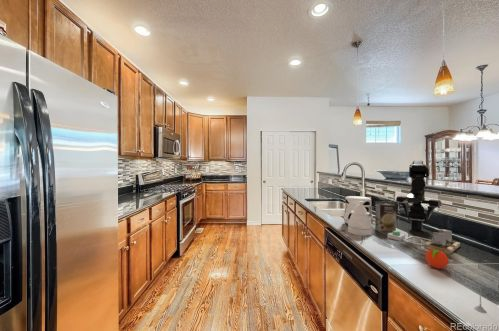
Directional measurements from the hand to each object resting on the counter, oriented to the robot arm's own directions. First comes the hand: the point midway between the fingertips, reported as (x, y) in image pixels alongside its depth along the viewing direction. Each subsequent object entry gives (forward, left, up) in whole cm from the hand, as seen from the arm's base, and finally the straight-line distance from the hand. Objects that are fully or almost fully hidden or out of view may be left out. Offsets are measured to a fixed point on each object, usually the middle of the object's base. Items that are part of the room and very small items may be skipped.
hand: (417, 217), depth 120 cm
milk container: (-1, -33, -12) cm, 35 cm away
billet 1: (+10, +12, -11) cm, 19 cm away
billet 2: (+1, +12, -11) cm, 16 cm away
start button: (+10, -6, -10) cm, 15 cm away
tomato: (+33, +17, -12) cm, 39 cm away
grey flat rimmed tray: (+6, +2, -12) cm, 13 cm away
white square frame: (+10, -6, -12) cm, 17 cm away
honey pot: (+13, -24, -12) cm, 30 cm away
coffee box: (-3, -17, -12) cm, 21 cm away
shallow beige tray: (+6, +12, -12) cm, 18 cm away
